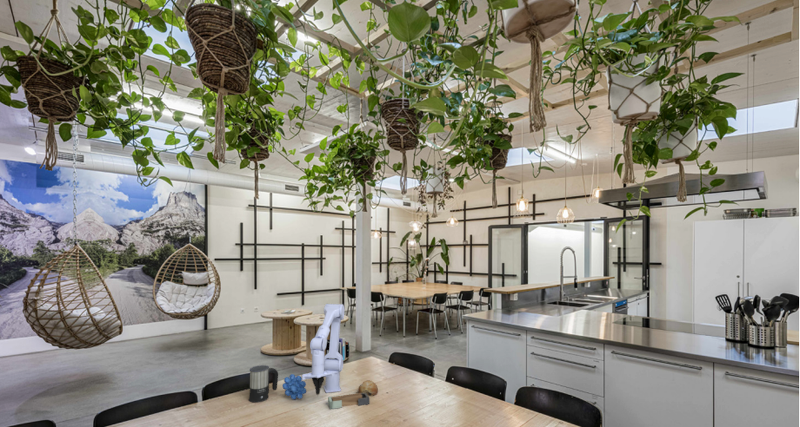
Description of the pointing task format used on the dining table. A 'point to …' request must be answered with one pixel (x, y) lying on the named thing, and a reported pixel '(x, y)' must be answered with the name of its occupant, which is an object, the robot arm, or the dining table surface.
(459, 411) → the dining table surface
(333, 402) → the sliding cap
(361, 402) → the fixed cap
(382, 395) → the dining table surface
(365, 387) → the bread roll
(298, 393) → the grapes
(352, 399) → the slat
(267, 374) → the milk frother
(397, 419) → the dining table surface
